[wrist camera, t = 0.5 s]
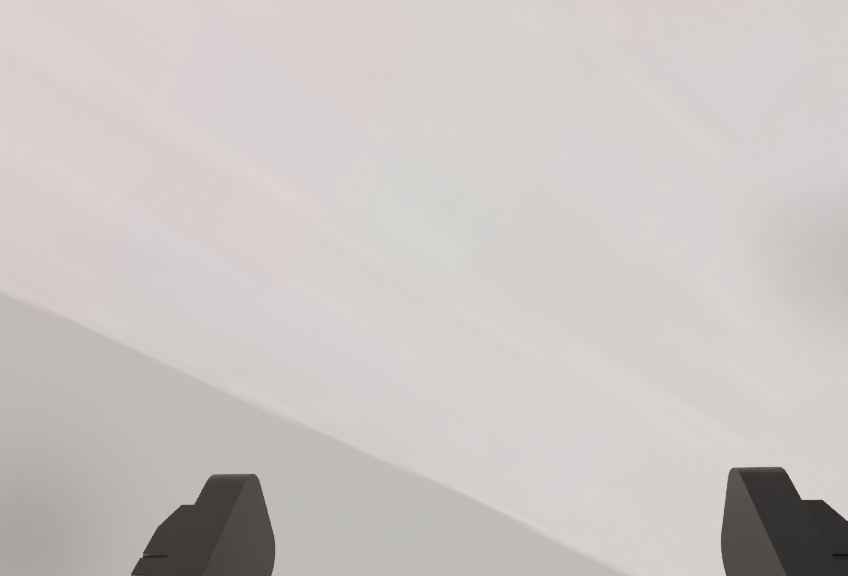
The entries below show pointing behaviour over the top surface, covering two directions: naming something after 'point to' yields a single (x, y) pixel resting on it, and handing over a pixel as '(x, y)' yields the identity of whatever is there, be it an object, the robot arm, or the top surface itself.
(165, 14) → the top surface
